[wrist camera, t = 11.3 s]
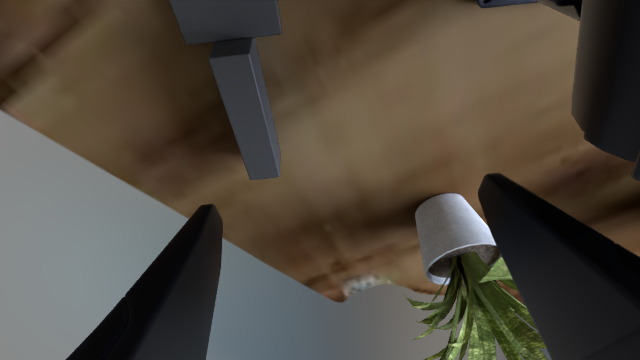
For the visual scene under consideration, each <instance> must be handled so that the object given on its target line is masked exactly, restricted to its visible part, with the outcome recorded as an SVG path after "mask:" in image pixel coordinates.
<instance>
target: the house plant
mask: <svg viewBox="0 0 640 360" xmlns="http://www.w3.org/2000/svg"><path fill="white" fill-rule="evenodd" d="M415 219H416V225H417V231H418V237H419V243H420V248H421V254H422V260H423V266H424V272H425V275H426V278H427V279H429V280H430V281H431V282H434V283H436V284H442V286H441V288H440V290H439V291H438V292H437V294H436V296H435V297H434V299H433V301H434V300H435V299H436V297H437V296H438V295H439V293H440V291H441V289H442V288H443V286H444V285H448V287H447V290H446V294H445V297H444V300H443V302H439V303H424V302H417V301H413V300H411V299H409V298H407V297H406V298H407V299H408V301H409V302H410V303H411V304H412V305H413V307H414V308H418V309H422V310H434V309H437V310H436V311H435V312H434V313H433V314H431V315H430V316H429V317H427V318H426V319H424V320H423V321H421V322H420V323H424V324H427V325H428V324H431V326H429V325H428V326H429V328H428V330H427V331H426V332H425V333H424V334H423V335H421V336H419V337H417V338H415V339H418V338H421V337H424V336H427V335H428V334H430V333H431V332H432V331H433V330H434V329H436V328H437V325H438V324H439V322H440V321H442V320H443V319H444V318H445V317H446V315H447V314H448V313H449V312H450V310H451V308H452V306H453V304H454V302H455V300H456V295H457V291H458V297H457V303H456V309H455V314H454V316H453V318H452V319H451V320H450V321H449V323H447V324H445V325H444V326H441V327H439V328H438V329H444V330H446V329H452V331H451V335H450V338H449V341H448V344H447V347H446V348H444V349H443V350H442V351H440V352H439V353H437V354H435V355H433V356H431V357H429V358H426V359H425V360H432V359H435V358H438V357H440V356H442V357H441V358H440V360H447V358H448V356H449V354H450V352H451V351H452V352H451V354H450V356H449V358H448V360H455V358H456V357H457V355H458V353H459V350H460V348H461V353H460V357H459V360H462V358H463V357H464V355H465V353H466V348H467V345H468V339H469V338H470V343H469V354H468V360H496V346H495V338H496V340H497V341H498V343H499V345H500V347H501V349H502V350H503V353H504V354H505V356H506V358H507V360H522V359H521V357H520V355H519V353H520V354H521V356H522V357H523V358H524V359H525V360H547V358H546V357H545V356H544V354H543V353H542V352H541V350H540V348H546V347H545V344H544V342H543V340H542V338H541V336H540V334H539V333H537V332H536V331H535V330H533V329H532V328H530V327H529V326H528V325H527V324H526V323H525V322H523V321H522V320H521V319H520V318H519V317H518V316H517V315H516V314H515V313H514V312H513V311H515V312H516V313H517V314H518V315H519V316H520V317H521V318H523V319H524V320H525V321H526V322H527V323H529V324H530V325H531V326H532V327H534V328H535V329H537V328H536V326H535V324H534V322H533V320H532V318H531V316H530V314H529V312H528V310H527V307H526V306H524V305H523V304H522V303H520V302H519V301H518V300H517V299H516V298H514V297H513V296H512V295H510V294H509V293H508V292H506V291H505V290H504V289H503V288H502V287H501V286H500V285H499V284H498V283H497V282H496V280H499V281H501V282H503V283H504V284H506V285H508V286H509V287H511V288H513V289H515V290H518V289H517V287H516V285H515V283H514V281H512V280H510V279H512V277H511V275H510V273H509V270H508V268H507V266H506V264H505V262H504V260H503V258H502V256H501V254H500V252H499V250H498V248H497V246H496V244H495V242H494V239H493V237H492V235H491V232H490V229H489V227H488V226H487V225H486V224H485V222H484V221H483V220H482V219H481V218H480V217H479V215H478V214H477V213H476V212H475V211H474V210H473V209H472V207H471V206H470V205H469V204H468V203H467V202H466V200H465V199H464V198H463V197H462V196H461V195H458V194H451V193H447V194H441V195H437V196H434V197H432V198H430V199H428V200H426V201H425V202H423V203H422V204H421V205H420V206H419V207H418V209H417V211H416V213H415ZM465 310H466V311H465ZM464 313H465V317H464V322H463V325H462V329H461V332H460V334H459V337H458V338H457V339H456V340H454V339H455V334H456V328H457V324H458V323H459V322H460V321H461V319H462V318H463V315H464ZM494 336H495V338H494ZM415 339H414V340H415ZM461 346H462V347H461ZM539 347H540V348H539ZM516 349H517V350H518V352H519V353H518V352H517V350H516Z"/></svg>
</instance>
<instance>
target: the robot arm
mask: <svg viewBox="0 0 640 360" xmlns="http://www.w3.org/2000/svg"><path fill="white" fill-rule="evenodd" d="M536 2H540V3H542V4H544V5H546V6H549V7H551V8H553V9H555V10H557V11H559V12H561V13H563V14H565V15H568V16H570V17H572V18H574V19H576V20H578V21H580V27H579V37H578V46H577V55H576V65H575V74H574V83H573V93H572V115H573V117H574V118H575V120H576V122H577V123H578V125H579V126H580V128H581V130H583V131H584V138H585V140H586V141H588V142H590V143H591V144H593V145H594V146H596V147H597V148H599V149H600V150H602V151H605V152H607V153H610V154H613V155H615V156H618V157H620V158H623V159H625V160H629V161H633V162H635V165H634V168H633V171H632V174H631V176H632V178H633V179H635V180H638V181H640V0H485V1H483V0H475V3H476V4H477V5H478V6H479V7H481V8H491V7H500V6H509V5H518V4H527V3H536ZM478 197H479V201H480V203H481V206H482V209H483V212H484V215H485V218H486V221H487V223H488V226H489V229H490V232H491V235H492V237H493V239H494V242H495V244H496V246H497V248H498V250H499V252H500V254H501V256H502V258H503V260H504V262H505V264H506V266H507V268H508V270H509V273H510V275H511V277H512V279H513V281H514V283H515V285H516V287H517V289H518V291H519V293H520V295H521V297H522V299H523V301H524V303H525V305H526V307H527V310H528V312H529V314H530V316H531V318H532V320H533V322H534V324H535V326H536V328H537V330H538V332H539V334H540V336H541V338H542V340H543V342H544V344H545V347H546V348H547V350H548V352H549V355H550V357H551V359H552V360H640V257H639V256H637V255H636V254H634V253H632V252H631V251H629V250H627V249H626V248H624V247H622V246H621V245H619V244H615V242H614V241H612V240H610V239H609V238H607V237H605V236H604V235H602V234H600V233H599V232H597V231H596V230H594V229H592V228H591V227H589V226H587V225H586V224H584V223H582V222H581V221H579V220H577V219H576V218H574V217H572V216H571V215H569V214H567V213H566V212H564V211H562V210H561V209H559V208H557V207H556V206H554V205H552V204H551V203H549V202H547V201H546V200H544V199H542V198H541V197H539V196H537V195H536V194H534V193H532V192H531V191H529V190H527V189H526V188H524V187H523V186H521V185H519V184H518V183H516V182H514V181H513V180H511V179H509V178H508V177H506V176H504V175H503V174H501V173H491V174H486V175H485V176H484V178H483V181H482V183H481V185H480V188H479V190H478ZM222 233H223V222H222V219H221V216H220V214H219V212H218V210H217V209H216V207H215V205H213V204H208V205H202V206H200V207H199V208H198V209H197V210H196V212H195V213H194V214H193V215H192V216H191V218H190V219H189V220H188V221H187V222H186V223H185V225H184V226H183V227H182V228H181V229H180V231H179V232H178V233H177V234H176V235H175V236H174V238H173V239H172V240H171V242H169V244H168V245H167V246H166V247H165V248H164V250H163V251H162V252H161V253H160V254H159V255H158V257H157V258H156V259H155V260H154V261H153V262H152V264H151V265H150V266H149V267H148V268H147V270H146V271H145V272H144V273H143V274H142V275H141V277H140V278H139V279H138V280H137V281H136V283H135V284H134V285H133V286H132V287H131V288H130V290H129V291H128V292H127V293H126V295H125V297H123V298H122V299H121V300H120V301H119V303H118V304H117V305H116V306H115V307H114V309H113V310H112V311H111V312H110V313H109V314H108V315H107V316H106V318H105V319H104V320H103V321H102V322H101V323H100V324H99V326H97V328H96V329H95V330H94V331H93V332H92V333H91V334H90V335H89V336H88V337H87V338H86V339H85V340H84V341H83V342H82V344H80V345H79V347H77V348H76V349H75V351H74V352H73V353H72V354H71V355H70V356H69V357H68V358H67V359H66V360H206V354H207V348H208V342H209V336H210V330H211V324H212V318H213V312H214V306H215V300H216V294H217V288H218V282H219V276H220V269H221V254H222Z"/></svg>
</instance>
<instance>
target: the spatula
mask: <svg viewBox="0 0 640 360" xmlns="http://www.w3.org/2000/svg"><path fill="white" fill-rule="evenodd" d="M169 2H170V4H171V7H172V9H173V12H174V15H175V17H176V20H177V22H178V25H179V28H180V30H181V33H182V35H183V38H184V40H185V43H186V45H191V44H200V43H209V42H215V45H214V47H213V49H212V51H211V53H210V55H209V58H208V60H209V63H210V66H211V69H212V72H213V75H214V77H215V80H216V83H217V86H218V89H219V92H220V95H221V98H222V100H223V103H224V106H225V109H226V112H227V115H228V118H229V121H230V124H231V126H232V129H233V132H234V135H235V138H236V141H237V144H238V147H239V149H240V152H241V155H242V158H243V161H244V164H245V167H246V170H247V172H248V175H249V178H250V180H258V179H267V178H276V177H280V156H281V153H280V148H279V144H278V139H277V135H276V130H275V126H274V122H273V117H272V113H271V108H270V104H269V99H268V95H267V91H266V86H265V82H264V77H263V73H262V69H261V64H260V60H259V55H258V51H257V46H256V42H255V38H254V37H262V36H270V35H279V34H282V28H281V21H280V15H279V9H278V3H277V0H169Z"/></svg>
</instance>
